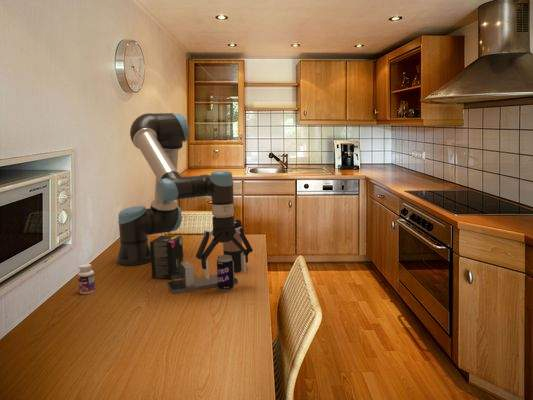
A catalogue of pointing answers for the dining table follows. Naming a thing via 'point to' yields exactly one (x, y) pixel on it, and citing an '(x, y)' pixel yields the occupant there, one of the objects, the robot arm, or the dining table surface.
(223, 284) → the beverage can
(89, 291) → the pill bottle
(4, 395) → the dining table surface
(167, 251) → the tampon box
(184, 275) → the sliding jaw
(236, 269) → the travel mug
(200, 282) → the vise base
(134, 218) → the robot arm
